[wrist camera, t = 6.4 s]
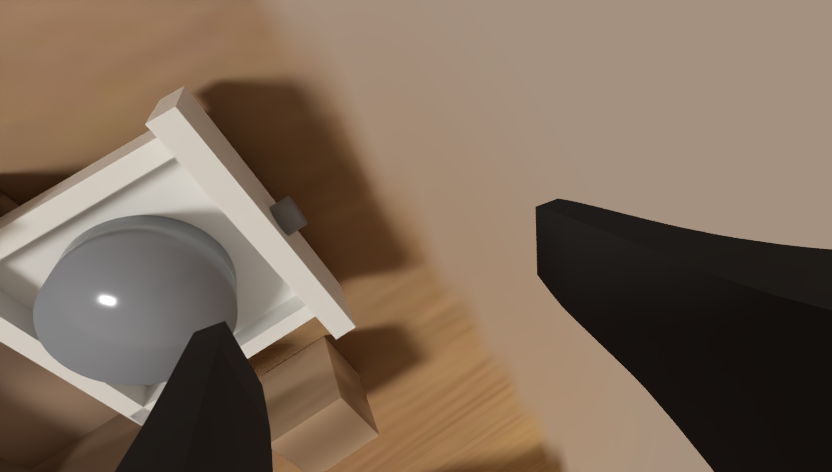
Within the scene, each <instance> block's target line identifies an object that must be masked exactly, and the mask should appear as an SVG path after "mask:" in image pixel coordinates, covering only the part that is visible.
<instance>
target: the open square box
mask: <svg viewBox="0 0 832 472" xmlns="http://www.w3.org/2000/svg"><path fill="white" fill-rule="evenodd" d="M17 207H19V205H18V204H16V203H15V202H14V201H13V200H11V199H10V198H9V197H8V196H6V195H5V194H4V193H3V192H1V191H0V217H2V216H4V215H5V214H7V213H9V212H11V211H12V210H14V209H16V208H17ZM142 426H143V425H142ZM142 426H141V425H139V424H138V423H136V422H134V421H132V420H131V419H129V418H127V417H126V416H124V415H122V414H121V413H119V412H117V411H116V410H114V409H112V408H111V407H109V406H107V405H106V404H104V403H102V402H101V401H99V400H97V399H96V398H94V397H92V396H91V395H89V394H87V393H86V392H84V391H82V390H81V389H79V388H77V387H76V386H74V385H72V384H71V383H69V382H67V381H66V380H64V379H62V378H61V377H59V376H57V375H56V374H54V373H52V372H50V371H49V370H47V369H45V368H44V367H42V366H40V365H39V364H37V363H35V362H34V361H32V360H30V359H29V358H27V357H25V356H24V355H22V354H20V353H19V352H17V351H15V350H14V349H12V348H10V347H9V346H7V345H5V344H4V343H2V342H0V472H115V470H116V469H117V467H118V465H119V464H120V462H121V460H122V459H123V457H124V456H125V454H126V452H127V451H128V449H129V448H130V446H131V444H132V443H133V441H134V439H135V438H136V436H137V435H138V433H139V431H140V430H141V428H142Z"/></svg>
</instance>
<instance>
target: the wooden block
mask: <svg viewBox="0 0 832 472" xmlns="http://www.w3.org/2000/svg"><path fill="white" fill-rule="evenodd" d="M261 377H262V386H263V391H264V396H265V402H266V407H267V413H268V419H269V425H270V431H271V448H272V449H273V450H275V451H276V452H277V453H279V454H280V455H282V456H283V457H284V458H286V459H287V460H289V461H290V462H291V463H293V464H294V465H296V466H297V467H298V468H300V469H301V470H302V471H304V472H324V471H326V470H327V469H329V468H330V467H332V466H334V465H335V464H337V463H338V462H340V461H341V460H343V459H344V458H346V457H347V456H349V455H350V454H352V453H353V452H355V451H356V450H358V449H359V448H361V447H362V446H364V445H366V444H367V443H369V442H370V441H372V440H373V439H375V438H376V437H378V436H379V433H378V430H377V427H376V424H375V421H374V418H373V415H372V412H371V409H370V406H369V403H368V400H367V397H366V394H365V392H364V389H363V386H362V383H361V380H360V377H359V374H358V373H357V372H356V371H355V370H354V369H353V367H352V366H351V365H350V364H349V363H348V362H347V361H346V360H345V359H344V358H343V356H342V355H341V354H340V353H339V352H338V351H337V350H336V349H335V348H334V347H333V345H332V344H331V343H330V342H329V341H328V340H327V339H326V338H325V337H322V338H320V339H319V340H317V341H316V342H314V343H312V344H311V345H309V346H308V347H306V348H305V349H303V350H301V351H300V352H298V353H297V354H295V355H294V356H292V357H290V358H289V359H287V360H286V361H284V362H283V363H281V364H279V365H278V366H276V367H275V368H273V369H272V370H270V371H268V372H267V373H265V374H264V375H262V376H261Z"/></svg>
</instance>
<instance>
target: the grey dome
mask: <svg viewBox="0 0 832 472" xmlns="http://www.w3.org/2000/svg"><path fill="white" fill-rule="evenodd" d="M237 315H238V306H237V279H236V271H235V268H234V265H233V262H232V260H231V258H230V256H229V255H228V253H227V252H226V250H225V249H224V248H223V247H222V246H221V244H220V243H219V242H218V241H217V240H215V239H214V238H213V237H212V236H211V235H209V234H208V233H206V232H205V231H203V230H201V229H200V228H197V227H195V226H193V225H191V224H189V223H186V222H183V221H180V220H177V219H173V218H169V217H162V216H154V215H136V216H126V217H121V218H116V219H112V220H109V221H105V222H103V223H100V224H98V225H96V226H93V227H92V228H90V229H88V230H87V231H85V232H83V233H82V234H81V235H79V236H78V237H77V238H75V239H74V240H73V241H72V242H71V243H70V244H69V246H68V247H67V248H66V249H65V251H64V252H63V254H62V255H61V257H60V258H59V260H58V262H57V263H56V265H55V266H54V268H53V270H52V271H51V273H50V274H49V276H48V278H47V279H46V281H45V282H44V284H43V285H42V287H41V289H40V290H39V293H38V295H37V297H36V300H35V304H34V308H33V323H34V328H35V331H36V334H37V336H38V339H39V341H40V342H41V344H42V345H43V347H44V348H45V350H46V351H47V352H48V353H49V354H50V355H51V356H52V357H53V358H54V359H55V360H56V361H58V362H59V363H60V364H61V365H63V366H65V367H66V368H68V369H69V370H71V371H73V372H75V373H77V374H79V375H81V376H84V377H87V378H90V379H92V380H96V381H100V382H104V383H110V384H117V385H149V384H157V383H162V382H167V381H168V379H169V377H170V376H171V374H172V372H173V370H174V368H175V366H176V364H177V362H178V361H179V359H180V357H181V355H182V353H183V351H184V349H185V348H186V346H187V344H188V342H189V340H190V339H191V337H192V335H193V333H194V332H196V331H198V330H201V329H204V328H207V327H209V326H212V325H215V324H218V323H220V322H223V321H226V323H227V325H228V327H229V328H230V330H231V332H232V333H234V330H235V328H236V323H237Z"/></svg>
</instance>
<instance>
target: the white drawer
mask: <svg viewBox="0 0 832 472" xmlns="http://www.w3.org/2000/svg"><path fill="white" fill-rule="evenodd" d="M145 125H146V126H147V127H148V128H149V129H150V130H149V131H148V132H146V133H144V134H143V135H141V136H139V137H137V138H136V139H134V140H132V141H131V142H129V143H127V144H125V145H124V146H122V147H120V148H119V149H117V150H115V151H113V152H112V153H110V154H108V155H107V156H105V157H103V158H101V159H100V160H98V161H96V162H95V163H93V164H91V165H89V166H88V167H86V168H84V169H83V170H81V171H79V172H77V173H76V174H74V175H72V176H71V177H69V178H67V179H65V180H64V181H62V182H60V183H59V184H57V185H55V186H53V187H52V188H50V189H48V190H47V191H45V192H43V193H41V194H40V195H38V196H36V197H35V198H33V199H31V200H29V201H28V202H26V203H24V204H23V205H21V206H19V207H17V208H16V209H14V210H12V211H11V212H9V213H7V214H5V215H4V216H2V217H0V342H2V343H4V344H5V345H7V346H9V347H10V348H12V349H14V350H15V351H17V352H19V353H20V354H22V355H24V356H25V357H27V358H29V359H30V360H32V361H34V362H35V363H37V364H39V365H40V366H42V367H44V368H45V369H47V370H49V371H50V372H52V373H54V374H56V375H57V376H59V377H61V378H62V379H64V380H66V381H67V382H69V383H71V384H72V385H74V386H76V387H77V388H79V389H81V390H82V391H84V392H86V393H87V394H89V395H91V396H92V397H94V398H96V399H97V400H99V401H101V402H102V403H104V404H106V405H107V406H109V407H111V408H112V409H114V410H116V411H117V412H119V413H121V414H122V415H124V416H126V417H127V418H129V419H131V420H132V421H134V422H136V423H138V424H139V425H141V426H142V425H143V424H144V423H145V421H146V419H147V417H148V415H149V414H150V412H151V410H152V408H153V407H154V405H155V403H156V401H157V399H158V398H159V396H160V394H161V392H162V390H163V389H164V387H165V385H166V383H167V382H162V383H157V384H149V385H117V384H110V383H104V382H100V381H96V380H92V379H90V378H87V377H84V376H81V375H79V374H77V373H75V372H73V371H71V370H69V369H68V368H66V367H65V366H63V365H61V364H60V363H59V362H58V361H56V360H55V359H54V358H53V357H52V356H51V355H50V354H49V353H48V352H47V351H46V350H45V348H44V347H43V345H42V344H41V342H40V341H39V339H38V336H37V334H36V331H35V328H34V323H33V308H34V304H35V300H36V297H37V295H38V293H39V290H40V289H41V287H42V285H43V284H44V282H45V281H46V279H47V278H48V276H49V274H50V273H51V271H52V270H53V268H54V266H55V265H56V263H57V262H58V260H59V258H60V257H61V255H62V254H63V252H64V251H65V249H66V248H67V247H68V246H69V244H70V243H71V242H72V241H73V240H74V239H75V238H77V237H78V236H79V235H81V234H82V233H83V232H85V231H87V230H88V229H90V228H92V227H93V226H96V225H98V224H100V223H103V222H105V221H109V220H112V219H116V218H121V217H126V216H136V215H154V216H162V217H169V218H173V219H177V220H180V221H183V222H186V223H189V224H191V225H193V226H195V227H197V228H200V229H201V230H203V231H205V232H206V233H208V234H209V235H211V236H212V237H213V238H214V239H215V240H217V241H218V242H219V243H220V244H221V246H222V247H223V248H224V249H225V250H226V252H227V253H228V255H229V256H230V258H231V260H232V262H233V265H234V268H235V271H236V279H237V306H238V315H237V323H236V328H235V330H234V333H233V335H234V337H235V339H236V340H237V342H238V344H239V346H240V347H241V349H242V351H243V353H244V354H245V356H246V358H247V359H248V358H250V357H251V356H253V355H255V354H256V353H258V352H259V351H261V350H263V349H264V348H266V347H267V346H269V345H270V344H272V343H274V342H275V341H277V340H278V339H280V338H282V337H283V336H285V335H286V334H288V333H289V332H291V331H293V330H294V329H296V328H297V327H299V326H301V325H302V324H304V323H305V322H307V321H309V320H310V319H312V318H313V317H315V316H316V317H317V318H318V320H319V321H320V322H321V323H322V324H323V325H324V326H325V327H326V329H327V330H328V331H329V332H330V333H331V334H332V335H333V336H334V338H335V339H338V338H339V337H341V336H343V335H344V334H346V333H347V332H349V331H350V330H352V329H354V328H355V327H356V326H355V323H354V321H353V318H352V315H351V313H350V310H349V307H348V305H347V302H346V299H345V297H344V294H343V291H342V289H341V286H340V284H339V283H338V281H337V280H336V279H335V278H334V276H333V275H332V274H331V272H330V271H329V270H328V269H327V267H326V266H325V265H324V263H323V262H322V261H321V260H320V258H319V257H318V256H317V254H316V253H315V252H314V251H313V249H312V248H311V247H310V246H309V244H308V243H307V242H306V240H305V239H304V238H303V237H302V235H301V234H300V233H299V231H298V230H299V229H301V228H303V227H304V226H306V225H307V224H308V222H307V220H306V218H305V216H304V214H303V213H302V211H301V210H300V208H299V207H298V205H297V204H296V203H295V201H294V200H293V199H292V198H291V197H290V196H289V195H288V196H287V197H285V198H283V199H282V200H280V201H279V202H277V203H276V202H275V201H274V199H273V198H272V197H271V196H270V194H269V193H268V192H267V190H266V189H265V188H264V187H263V185H262V184H261V183H260V181H259V180H258V179H257V178H256V176H255V175H254V174H253V172H252V171H251V170H250V169H249V167H248V166H247V165H246V164H245V162H244V161H243V160H242V158H241V157H240V156H239V155H238V153H237V152H236V151H235V149H234V148H233V147H232V146H231V144H230V143H229V142H228V140H227V139H226V138H225V137H224V135H223V134H222V133H221V131H220V130H219V129H218V128H217V126H216V125H215V124H214V122H213V121H212V120H211V119H210V117H209V116H208V115H207V114H206V112H205V111H204V110H203V108H202V107H201V106H200V105H199V103H198V102H197V101H196V99H195V98H194V97H193V96H192V94H191V93H190V92H189V90H188V89H187V88H186V87H185V86H183V87H181V88H180V89H178V90H176V91H174V92H173V93H171V94H169V95H167V96H166V97H164V98H162V99H161V100H159V102H158V104H157V105H156V107H155V109H154V110H153V112H152V113H151V115H150V117H149V118H148V120H147V122H146V123H145Z"/></svg>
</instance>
